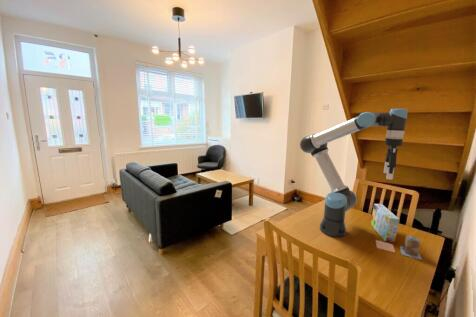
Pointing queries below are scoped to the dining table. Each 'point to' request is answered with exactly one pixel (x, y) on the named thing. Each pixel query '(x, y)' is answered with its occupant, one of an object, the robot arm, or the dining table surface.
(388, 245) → the terracotta tile
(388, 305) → the dining table surface
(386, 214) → the snack box
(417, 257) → the slate tile
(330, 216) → the robot arm
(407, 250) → the block
